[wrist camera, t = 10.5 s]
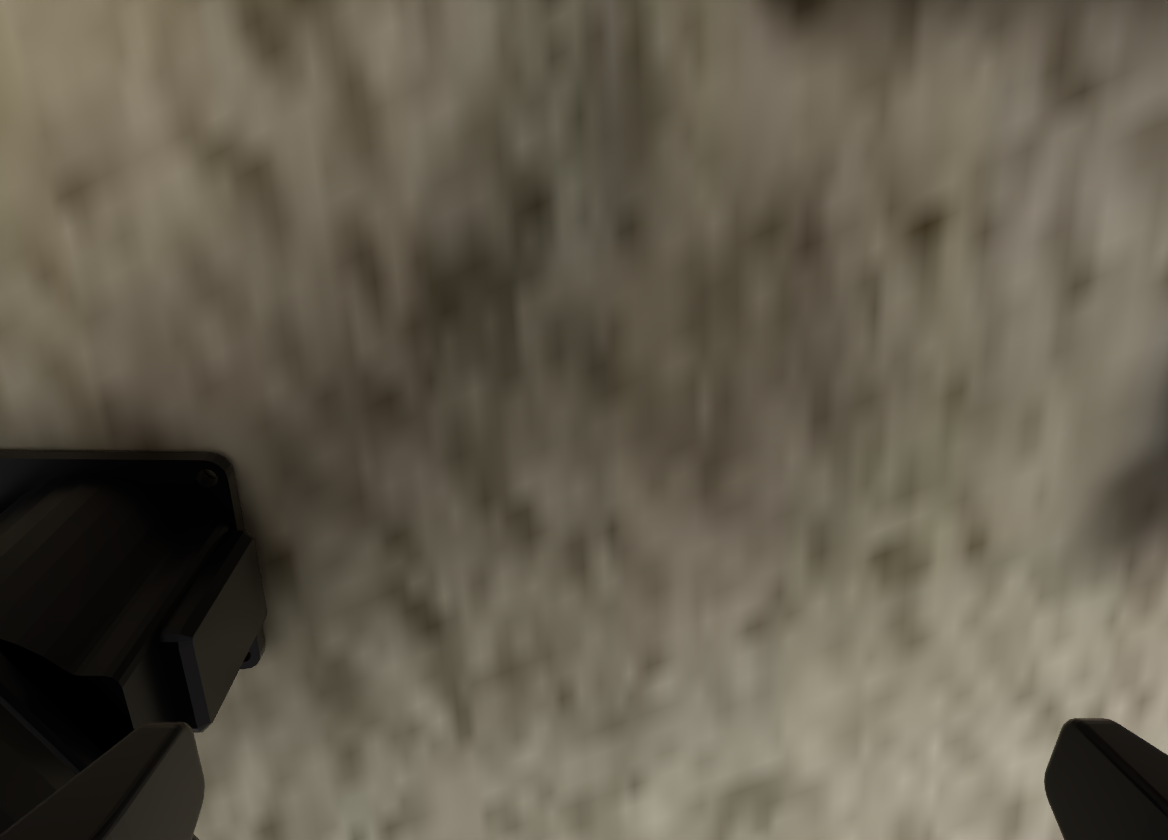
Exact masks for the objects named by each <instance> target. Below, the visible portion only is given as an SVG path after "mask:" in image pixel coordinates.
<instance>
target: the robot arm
mask: <svg viewBox="0 0 1168 840" xmlns="http://www.w3.org/2000/svg"><path fill="white" fill-rule="evenodd" d="M203 469H207V470H211V471H212V472H214V473H215V474H216V476H217V478H218V479H216V480H214V479H210V478H208V477H207V476H206V475H205V474H204V472H203ZM266 615H267V609H266V603H265V597H264V592H263V586H262V580H261V574H260V568H259V563H258V557H257V551H256V545H255V540H254V538H253V537H252V536H251V535H250V533H249V532H248V531H246V530H244V525H243V519H242V514H241V508H240V503H239V497H238V491H237V486H236V480H235V475H234V470H233V467H232V465H231V463H230V462H229V461H228V460H227V459H226V458H225V457H223V456H221V455H219V454H215V453H196V452H88V451H0V840H199V839H198V838H197V837H196V836H195V835H194V834H193V833H194V830H195V827H196V823H197V820H198V817H199V813H200V810H201V807H202V803H203V798H204V789H205V783H204V776H203V771H202V767H201V763H200V759H199V755H198V751H197V746H196V742H195V738H194V734H193V732H203V731H204V730H205V729H206V728H207V727H208V726H209V725H210V724H211V723H212V722H213V721H214V719H215V717H216V715H217V713H218V711H219V709H220V707H221V705H222V703H223V701H224V699H225V697H226V695H227V693H228V691H229V689H230V687H231V685H232V683H233V681H234V679H235V677H236V675H237V673H238V671H239V669H247V668H252V667H253V666H255V665H257V663H258V662H259V660H260V658H261V656H262V654H263V652H264V649H265V643H264V637H263V632H262V626H261V625H262V623H263V621H264V619H265V617H266ZM248 651H249V652H248ZM1044 783H1045V791H1046V795H1047V798H1048V801H1049V804H1050V806H1051V809H1052V811H1053V813H1054V816H1055V818H1056V821H1057V823H1058V826H1059V828H1060V830H1061V833H1062V835H1063V838H1064V840H1168V755H1167V754H1165V753H1163V752H1162V751H1160V750H1159V749H1157V748H1156V747H1154V746H1152V745H1151V744H1149V743H1148V742H1146V741H1145V740H1143V739H1142V738H1140V737H1138V736H1137V735H1135V734H1134V733H1132V732H1131V731H1129V730H1127V729H1126V728H1124V727H1123V726H1121V725H1120V724H1118V723H1116V722H1114V721H1112V720H1109V719H1104V718H1074V719H1070V720H1069V721H1067V722H1066V723H1065V724H1064V725H1063V727H1062V729H1061V731H1060V734H1059V737H1058V739H1057V742H1056V745H1055V747H1054V750H1053V753H1052V755H1051V758H1050V761H1049V763H1048V766H1047V769H1046V772H1045V779H1044Z"/></svg>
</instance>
